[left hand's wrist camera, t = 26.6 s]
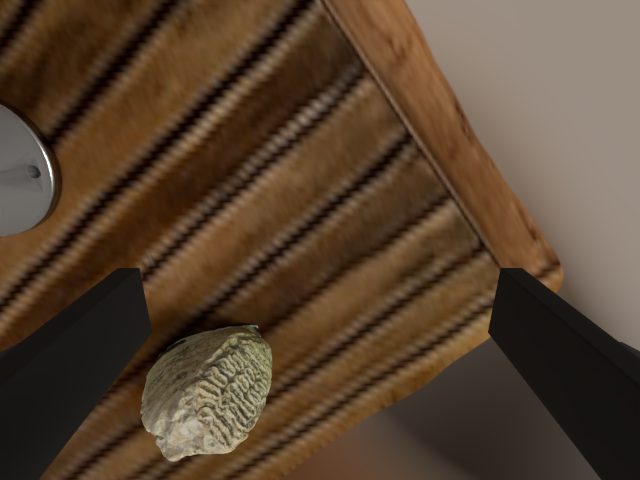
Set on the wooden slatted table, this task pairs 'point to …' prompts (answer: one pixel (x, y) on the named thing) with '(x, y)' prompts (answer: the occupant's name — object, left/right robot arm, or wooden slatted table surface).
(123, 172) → the wooden slatted table surface
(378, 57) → the wooden slatted table surface
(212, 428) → the fossil
